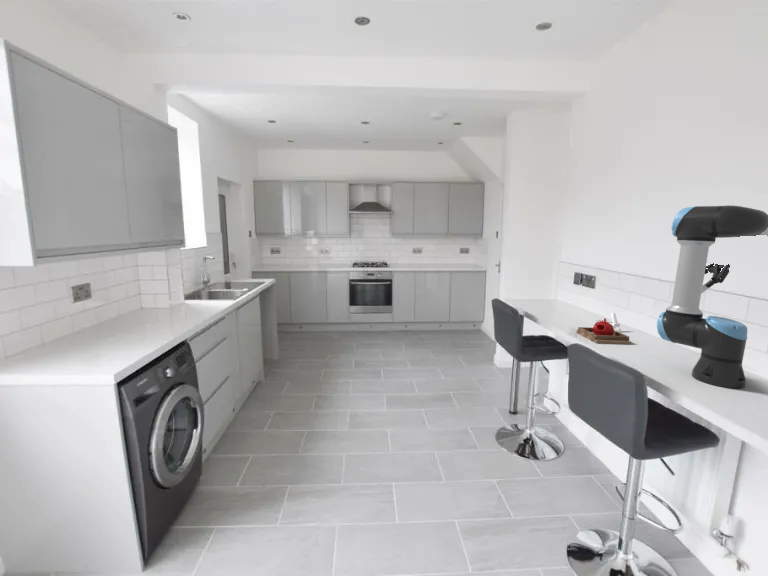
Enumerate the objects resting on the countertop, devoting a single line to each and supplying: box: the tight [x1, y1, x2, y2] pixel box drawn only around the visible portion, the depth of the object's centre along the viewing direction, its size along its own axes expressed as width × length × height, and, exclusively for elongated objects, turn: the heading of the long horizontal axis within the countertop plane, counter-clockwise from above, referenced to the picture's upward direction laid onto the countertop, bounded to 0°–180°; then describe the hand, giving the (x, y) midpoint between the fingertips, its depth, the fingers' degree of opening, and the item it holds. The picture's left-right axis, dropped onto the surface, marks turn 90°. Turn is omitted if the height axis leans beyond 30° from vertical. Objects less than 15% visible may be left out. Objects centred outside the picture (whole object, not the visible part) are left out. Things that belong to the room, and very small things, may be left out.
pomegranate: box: [592, 318, 614, 336], centre depth 196 cm, size 10×10×9 cm
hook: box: [610, 312, 622, 333], centre depth 216 cm, size 8×12×7 cm
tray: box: [575, 326, 632, 345], centre depth 197 cm, size 20×17×4 cm
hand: (688, 289), depth 174 cm, fingers open, 13 cm apart
